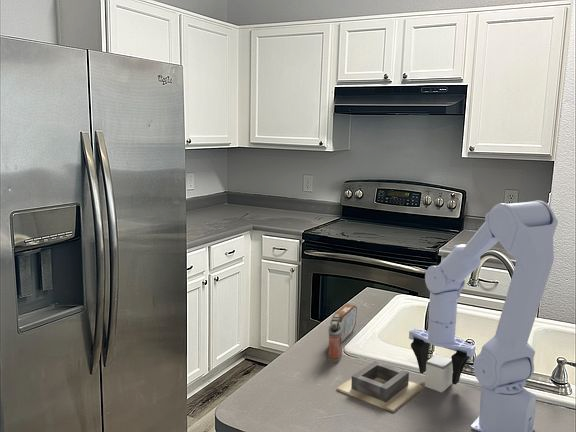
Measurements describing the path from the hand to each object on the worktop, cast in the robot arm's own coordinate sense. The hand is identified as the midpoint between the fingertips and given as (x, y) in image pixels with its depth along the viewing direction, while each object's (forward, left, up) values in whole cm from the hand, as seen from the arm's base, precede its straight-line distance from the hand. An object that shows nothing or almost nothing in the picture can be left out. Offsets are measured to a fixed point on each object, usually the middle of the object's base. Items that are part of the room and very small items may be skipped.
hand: (439, 377), depth 119 cm
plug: (0, 0, -2) cm, 2 cm away
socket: (+9, +10, -2) cm, 14 cm away
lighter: (+26, +3, -2) cm, 26 cm away
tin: (+31, -8, -2) cm, 32 cm away
